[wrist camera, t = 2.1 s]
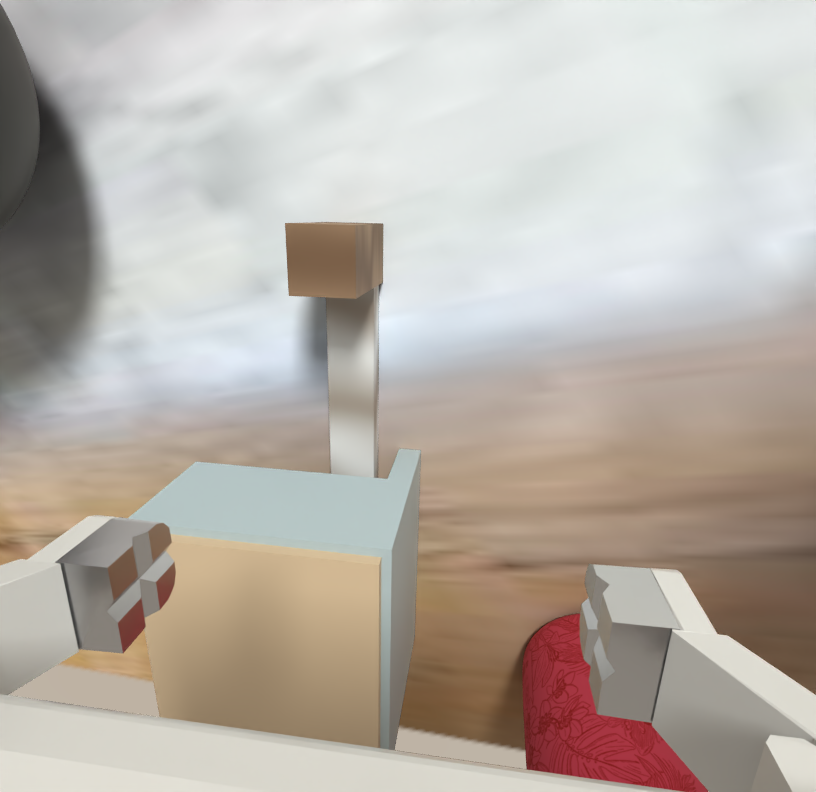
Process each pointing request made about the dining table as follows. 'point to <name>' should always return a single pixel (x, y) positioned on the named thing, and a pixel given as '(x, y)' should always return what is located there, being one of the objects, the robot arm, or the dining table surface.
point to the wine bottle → (587, 721)
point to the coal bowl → (15, 122)
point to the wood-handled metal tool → (345, 329)
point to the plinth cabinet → (288, 600)
